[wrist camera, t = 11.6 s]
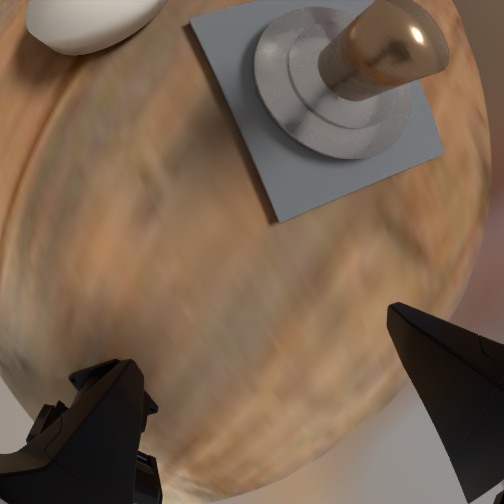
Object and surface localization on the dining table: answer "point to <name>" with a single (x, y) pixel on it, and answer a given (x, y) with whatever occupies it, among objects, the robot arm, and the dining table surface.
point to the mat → (274, 139)
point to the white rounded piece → (87, 22)
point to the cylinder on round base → (346, 74)
